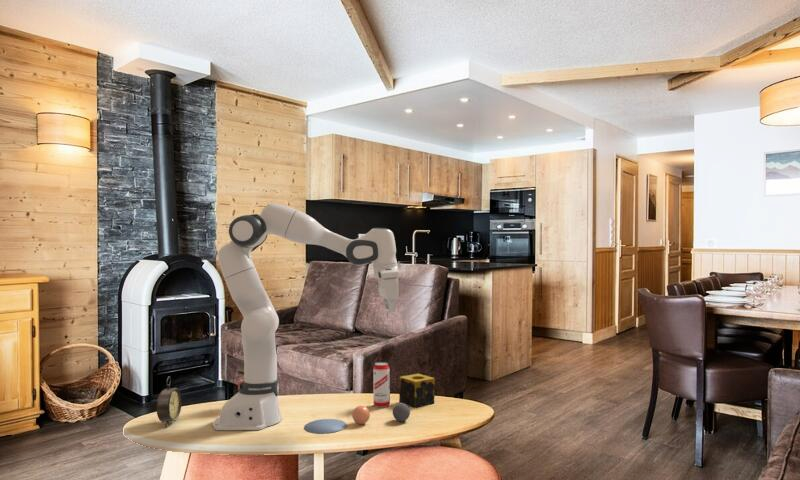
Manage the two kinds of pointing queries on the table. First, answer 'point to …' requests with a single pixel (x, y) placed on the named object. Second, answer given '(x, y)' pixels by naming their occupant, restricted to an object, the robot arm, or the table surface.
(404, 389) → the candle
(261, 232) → the robot arm
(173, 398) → the alarm clock
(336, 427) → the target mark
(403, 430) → the table surface
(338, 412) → the table surface
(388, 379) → the beer can
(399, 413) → the gray ball
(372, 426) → the table surface
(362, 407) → the terracotta egg
